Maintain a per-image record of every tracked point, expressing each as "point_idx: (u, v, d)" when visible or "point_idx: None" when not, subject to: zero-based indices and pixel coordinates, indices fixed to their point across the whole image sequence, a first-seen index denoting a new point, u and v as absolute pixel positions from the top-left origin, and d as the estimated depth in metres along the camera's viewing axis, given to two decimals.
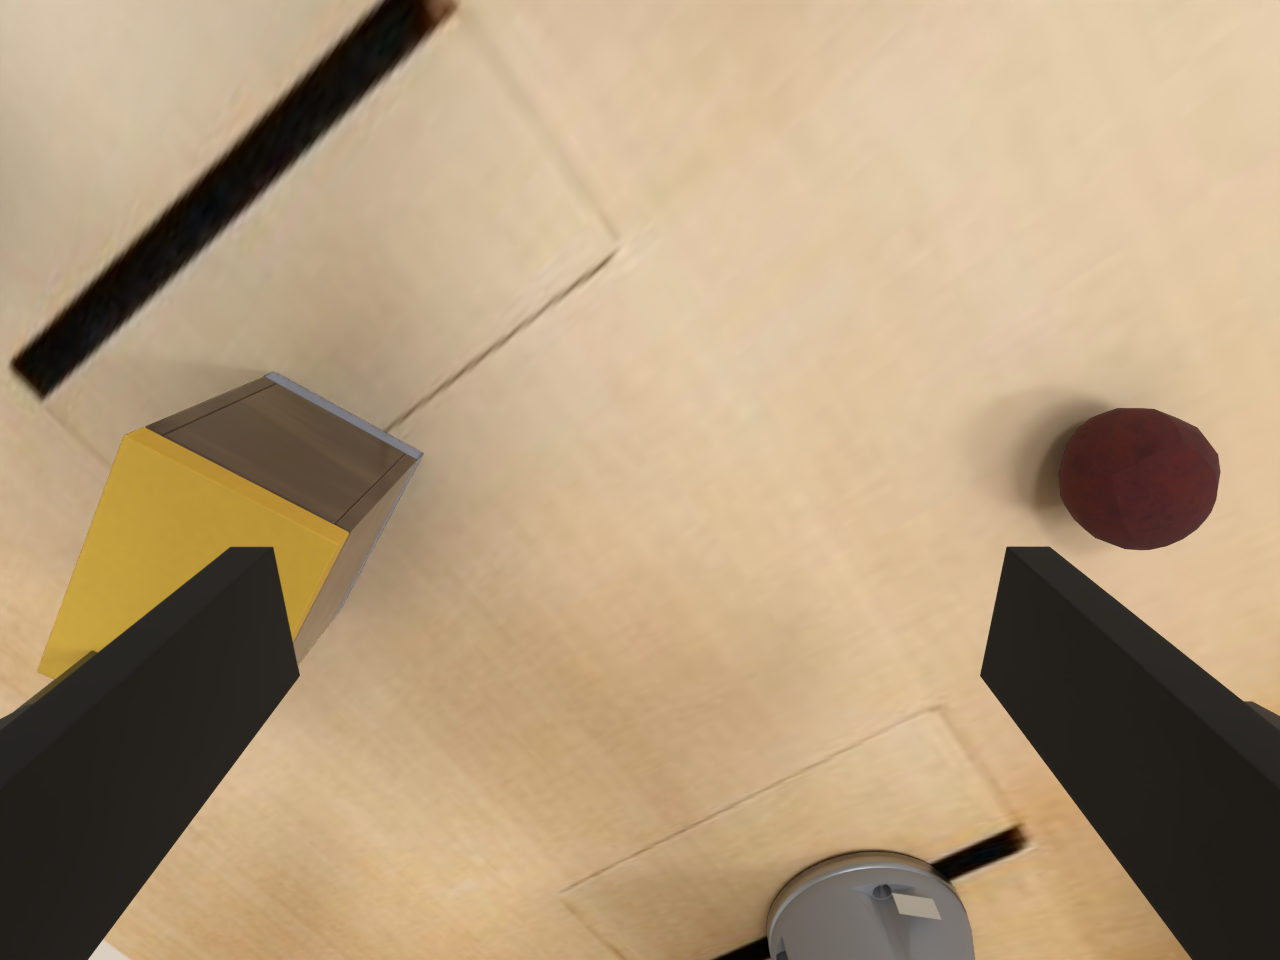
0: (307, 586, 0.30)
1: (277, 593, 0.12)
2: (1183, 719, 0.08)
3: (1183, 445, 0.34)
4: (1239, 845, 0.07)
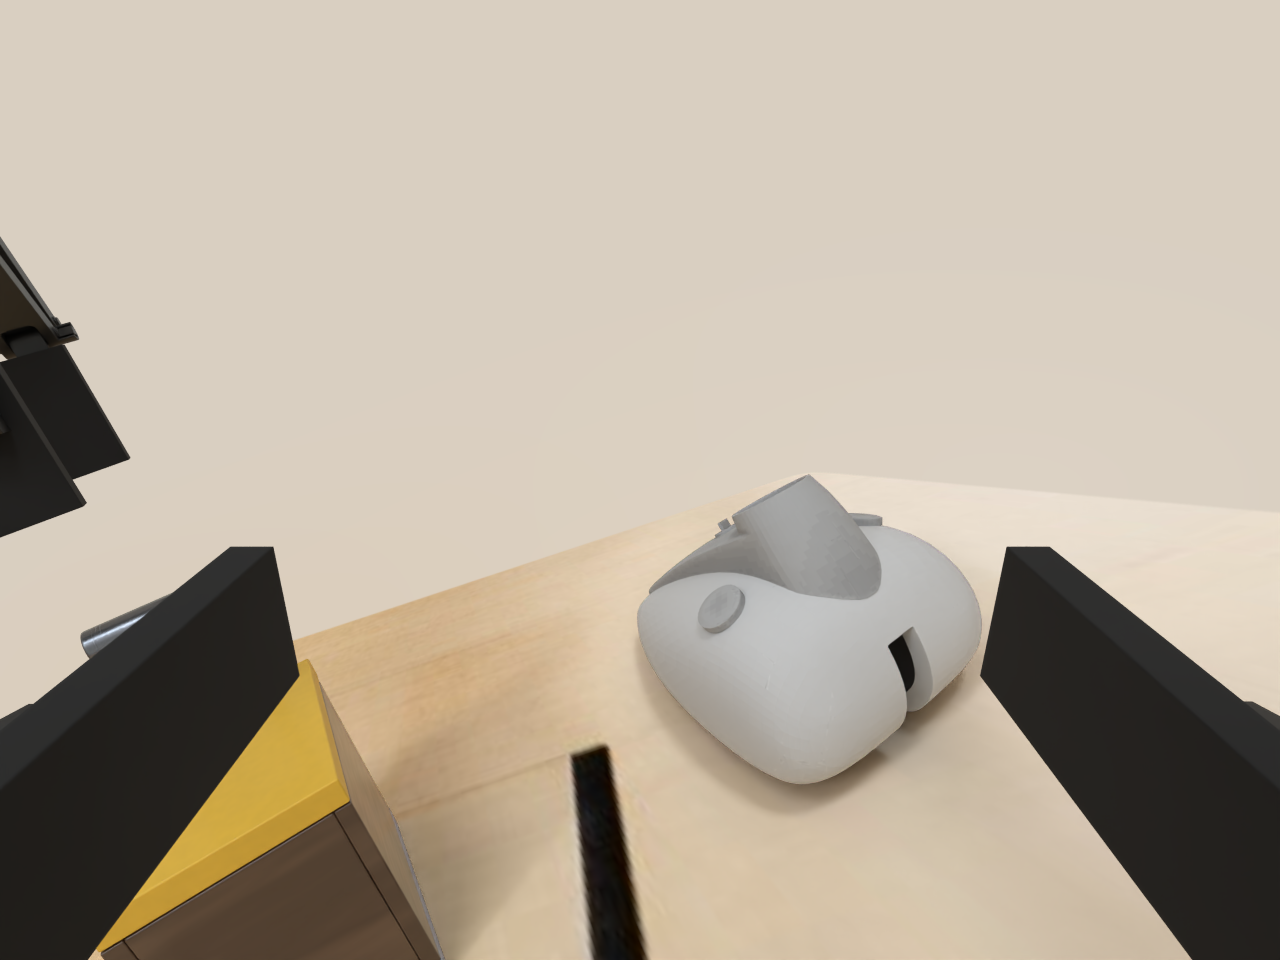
0: None
1: (277, 593, 0.12)
2: (1183, 719, 0.08)
3: None
4: (1240, 845, 0.07)
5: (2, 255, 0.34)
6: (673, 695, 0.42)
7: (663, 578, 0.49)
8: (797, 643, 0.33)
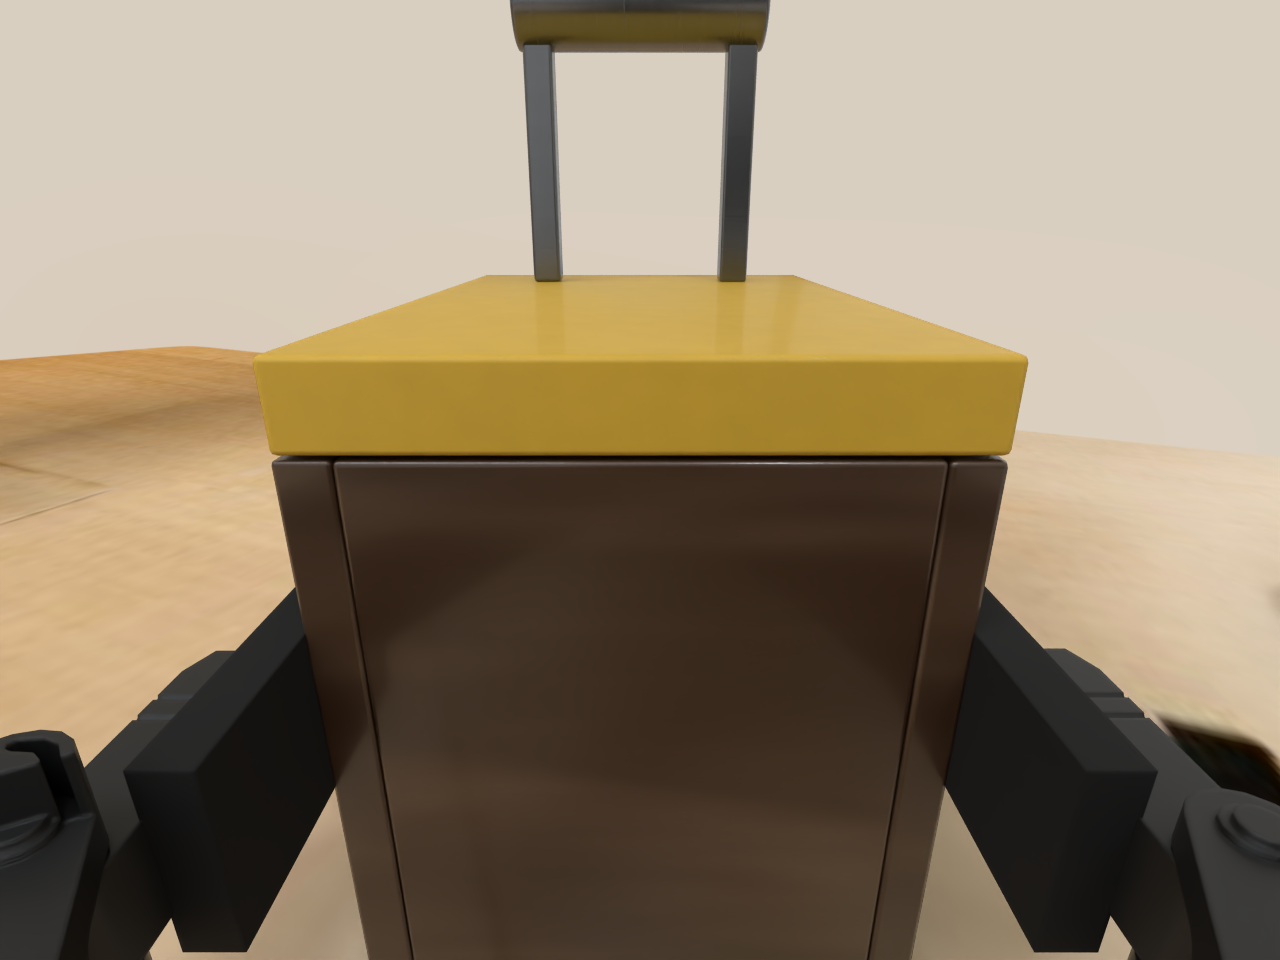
0: (361, 324, 0.11)
1: None
2: (984, 658, 0.09)
3: None
4: (1014, 761, 0.09)
5: None
6: None
7: None
8: None
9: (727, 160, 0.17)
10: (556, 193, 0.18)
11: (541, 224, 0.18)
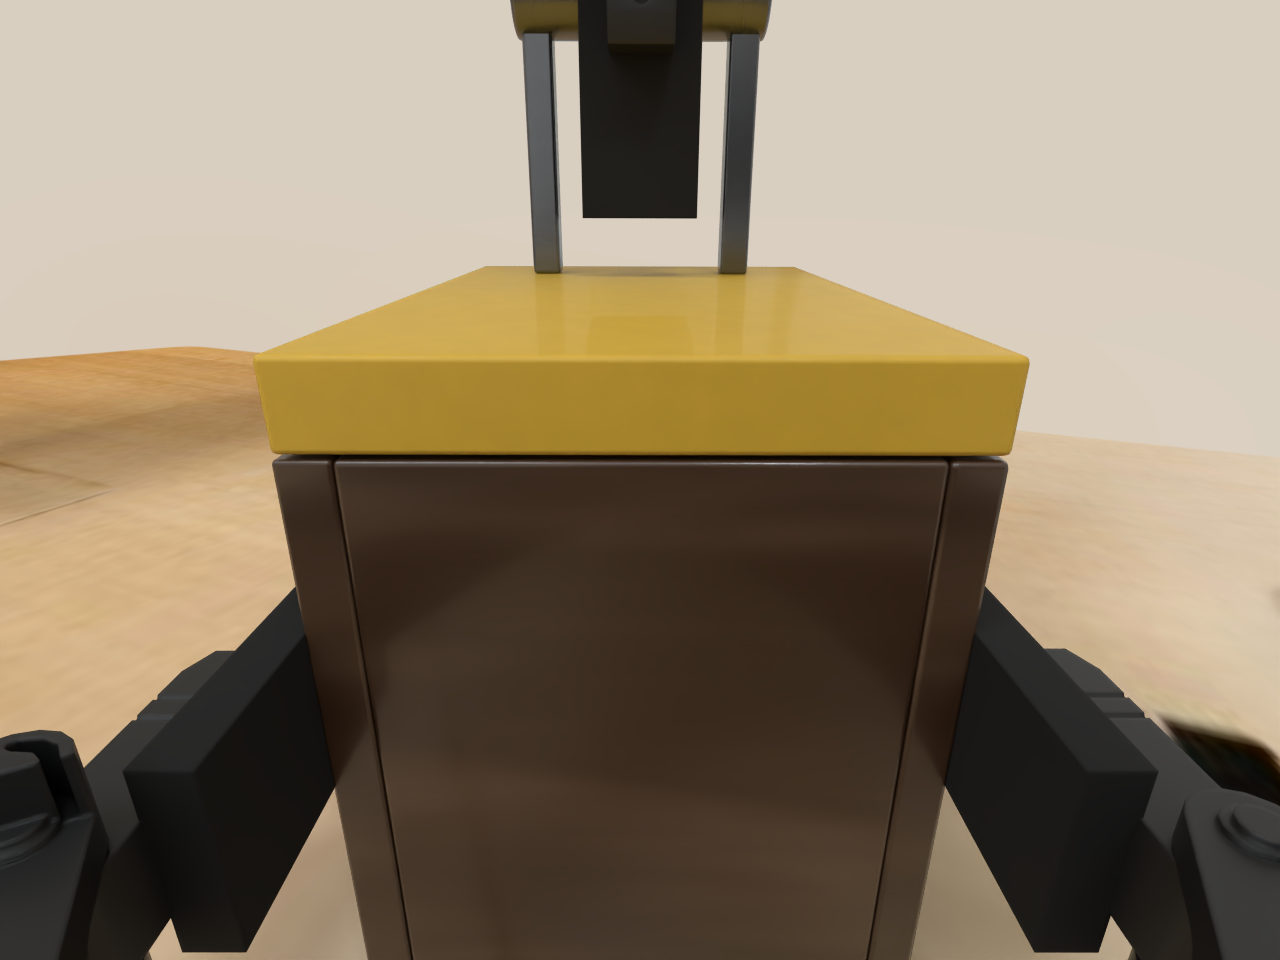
0: (361, 320, 0.11)
1: None
2: (984, 658, 0.09)
3: None
4: (1014, 762, 0.09)
5: None
6: None
7: None
8: None
9: (728, 151, 0.17)
10: (556, 184, 0.17)
11: (541, 215, 0.18)
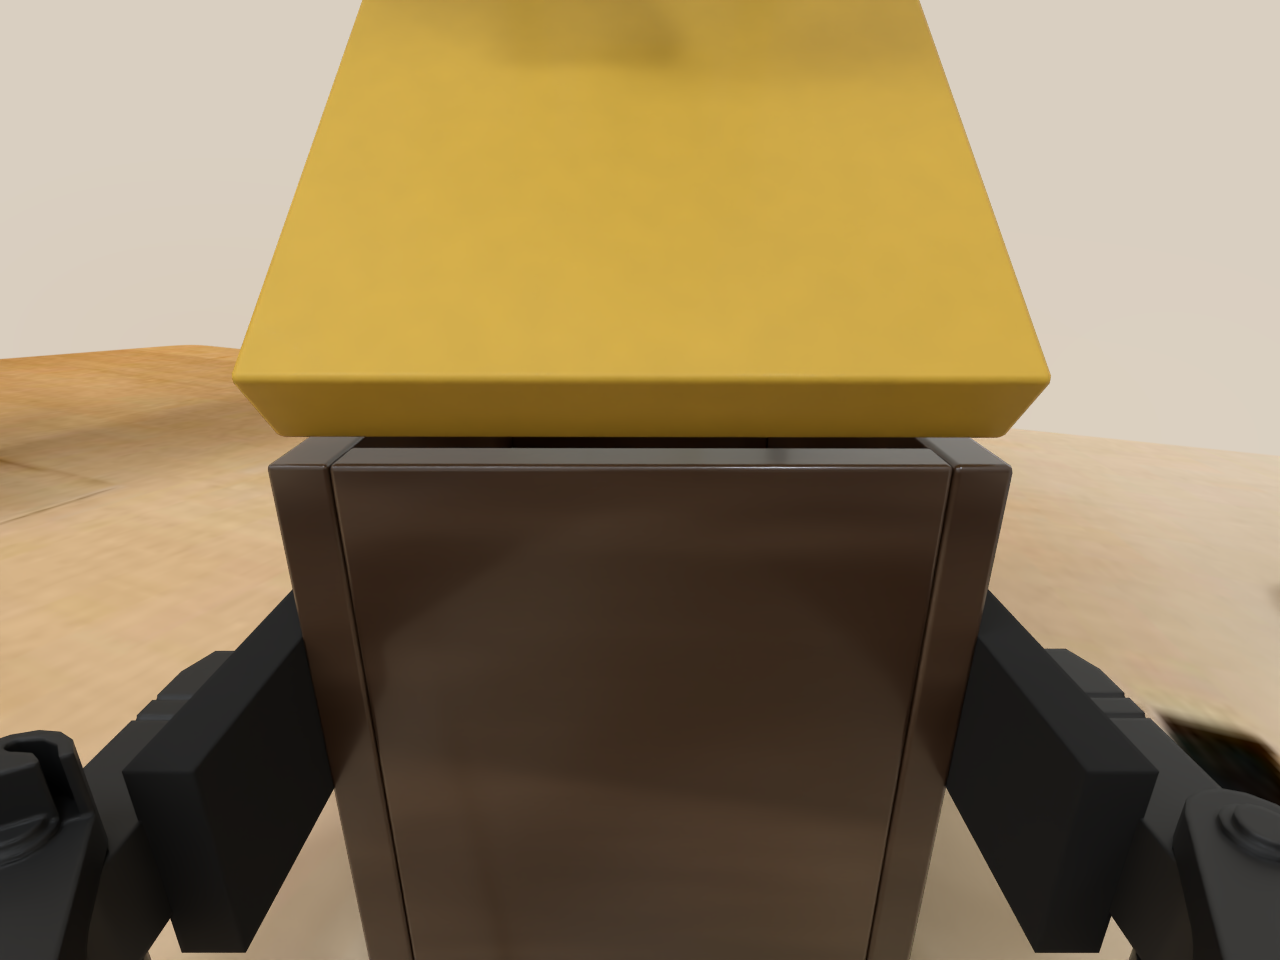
0: (311, 217, 0.09)
1: None
2: (985, 658, 0.09)
3: None
4: (1015, 762, 0.09)
5: None
6: None
7: None
8: None
9: None
10: None
11: None
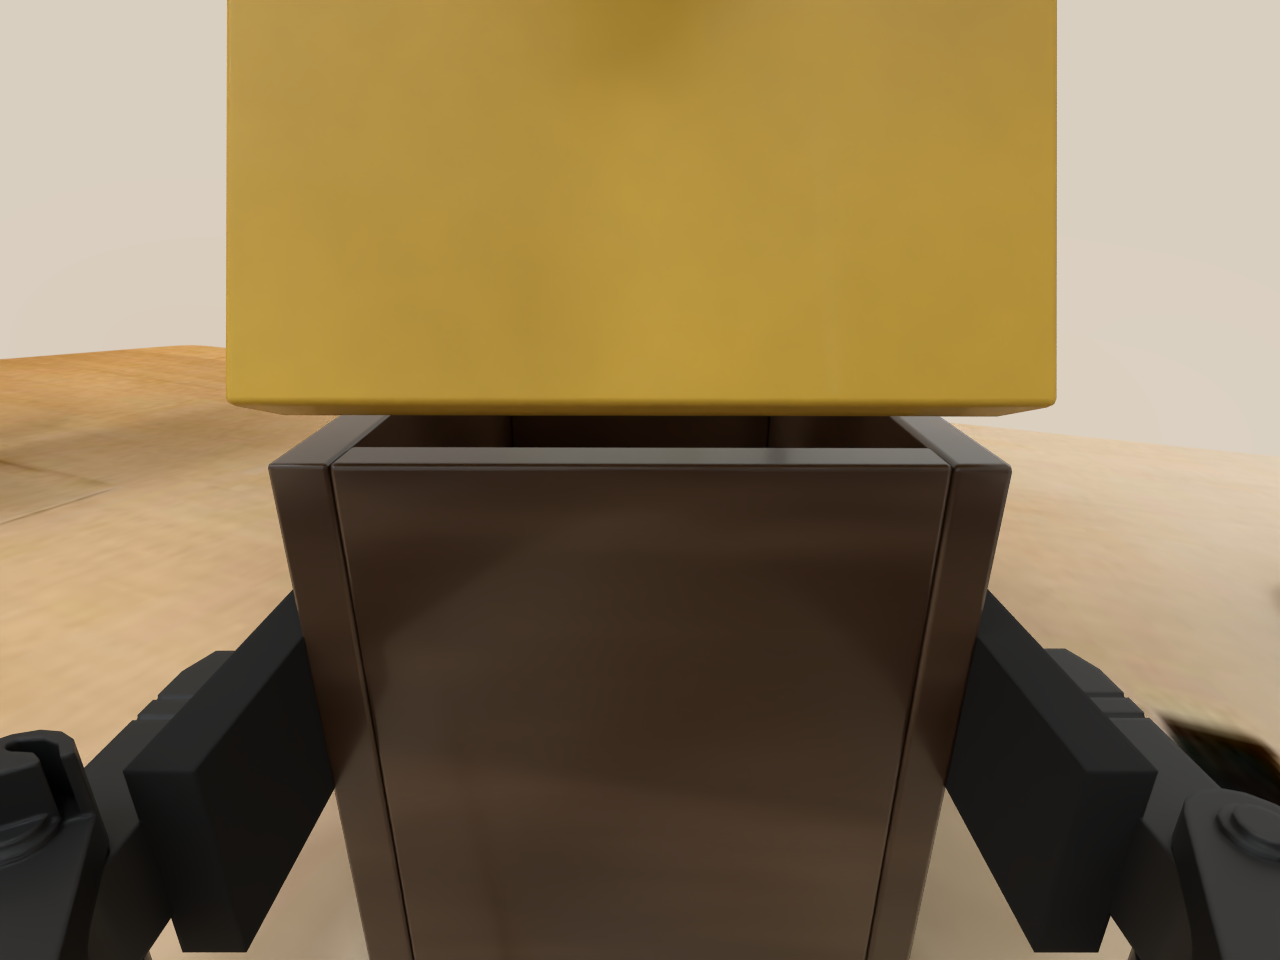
0: (255, 170, 0.08)
1: None
2: (984, 658, 0.09)
3: None
4: (1014, 762, 0.09)
5: None
6: None
7: None
8: None
9: None
10: None
11: None
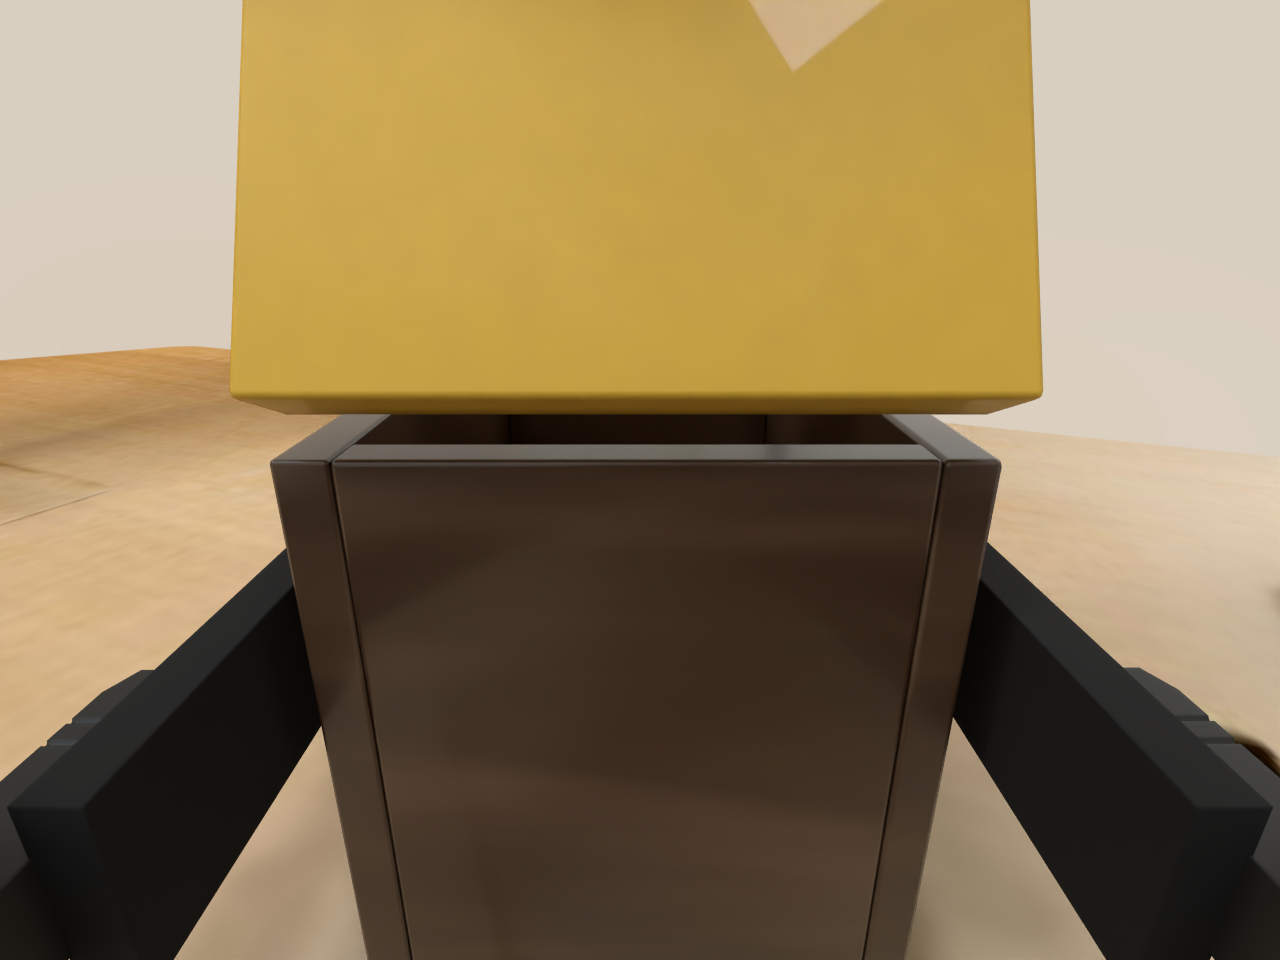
0: (264, 175, 0.08)
1: None
2: (1063, 680, 0.09)
3: None
4: (1102, 791, 0.08)
5: None
6: None
7: None
8: None
9: None
10: None
11: None
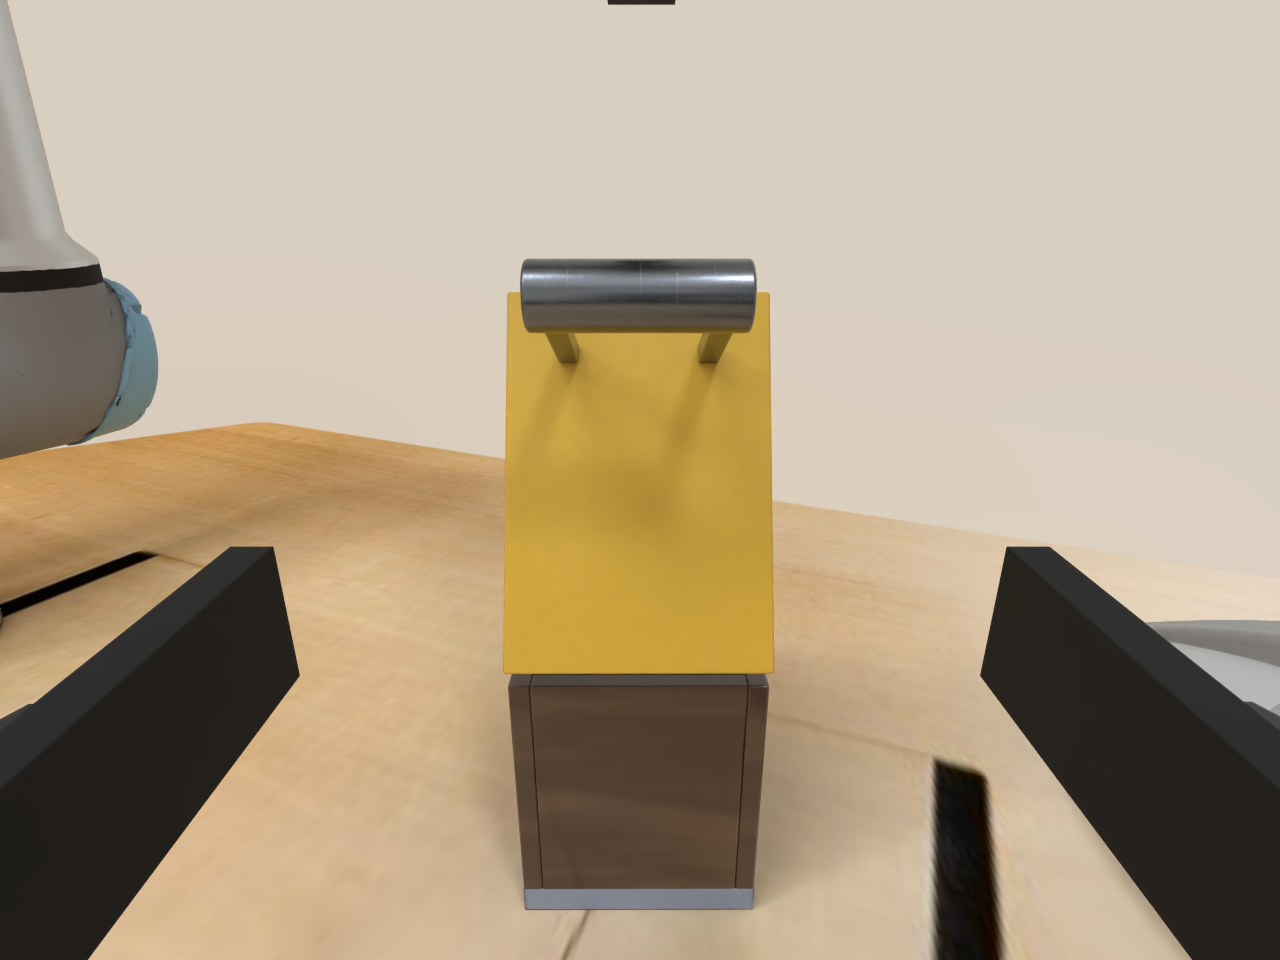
0: (514, 598, 0.24)
1: (277, 593, 0.12)
2: (1183, 719, 0.08)
3: None
4: (1239, 845, 0.07)
5: None
6: None
7: None
8: None
9: (709, 342, 0.21)
10: (572, 347, 0.22)
11: (561, 353, 0.23)
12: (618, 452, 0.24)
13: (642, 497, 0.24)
